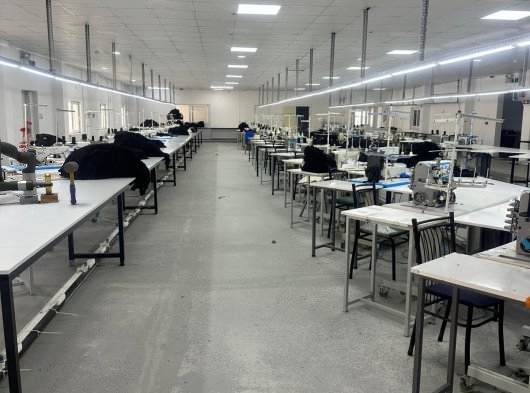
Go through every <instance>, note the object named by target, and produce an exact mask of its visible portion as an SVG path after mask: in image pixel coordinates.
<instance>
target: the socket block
mask: <svg viewBox="0 0 530 393" xmlns="http://www.w3.org/2000/svg"><path fill="white" fill-rule="evenodd" d="M18 201H19V205H34V204H36V205H37V204H38V203H39V202H40V200H39V195H38V194H35V195H21V196H20V197H19V200H18Z"/></svg>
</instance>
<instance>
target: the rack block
mask: <svg viewBox="0 0 530 393" xmlns="http://www.w3.org/2000/svg"><path fill="white" fill-rule="evenodd" d="M50 203H59V194H58V192H52V195H46V192H45V193H40V204H50Z"/></svg>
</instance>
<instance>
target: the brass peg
mask: <svg viewBox="0 0 530 393" xmlns="http://www.w3.org/2000/svg"><path fill="white" fill-rule="evenodd" d="M44 182H45V183H46V184H49V183H52V174H51V173H49V172H48V173H44ZM45 193H46V195H52V193H53V186H52V187H45Z"/></svg>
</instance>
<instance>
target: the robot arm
mask: <svg viewBox="0 0 530 393" xmlns="http://www.w3.org/2000/svg"><path fill="white" fill-rule="evenodd" d="M2 155H3V156H5V157H8V158H11V159H13V160H15V161H16V162H18V163H20V164H22V165H26V166H27V167H24V168H22V169H21V176H22V177H21V179H22V180H10V181H5V180H4V175H3V174H4V173H3V169H2ZM36 168H37V166H36V155H35V153H34V152H32V151H20V150H19V148H18V147H17V146H16V145H14V144H12V143H10V142H6V141H2V140H1V138H0V193H1V192H3V193H4V192H23V196H33V195H38V190H37V189H42V188H45V187H52V188H53V186H54V183H53V182H51V183H49V184H46V183H45V181H37V176H36V170H37V169H36ZM45 189H46V188H45Z"/></svg>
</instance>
